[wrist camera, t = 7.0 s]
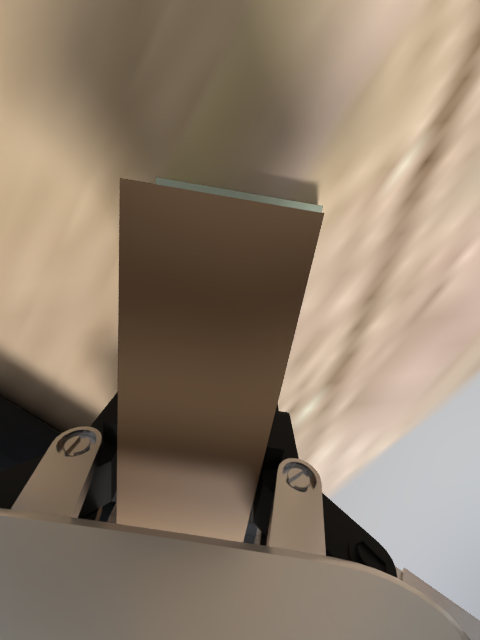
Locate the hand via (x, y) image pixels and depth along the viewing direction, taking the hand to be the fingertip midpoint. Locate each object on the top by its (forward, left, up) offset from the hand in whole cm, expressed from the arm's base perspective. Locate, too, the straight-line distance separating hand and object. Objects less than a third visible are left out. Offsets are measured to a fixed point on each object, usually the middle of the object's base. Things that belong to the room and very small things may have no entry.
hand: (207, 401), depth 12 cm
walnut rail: (0, 0, -1) cm, 1 cm away
